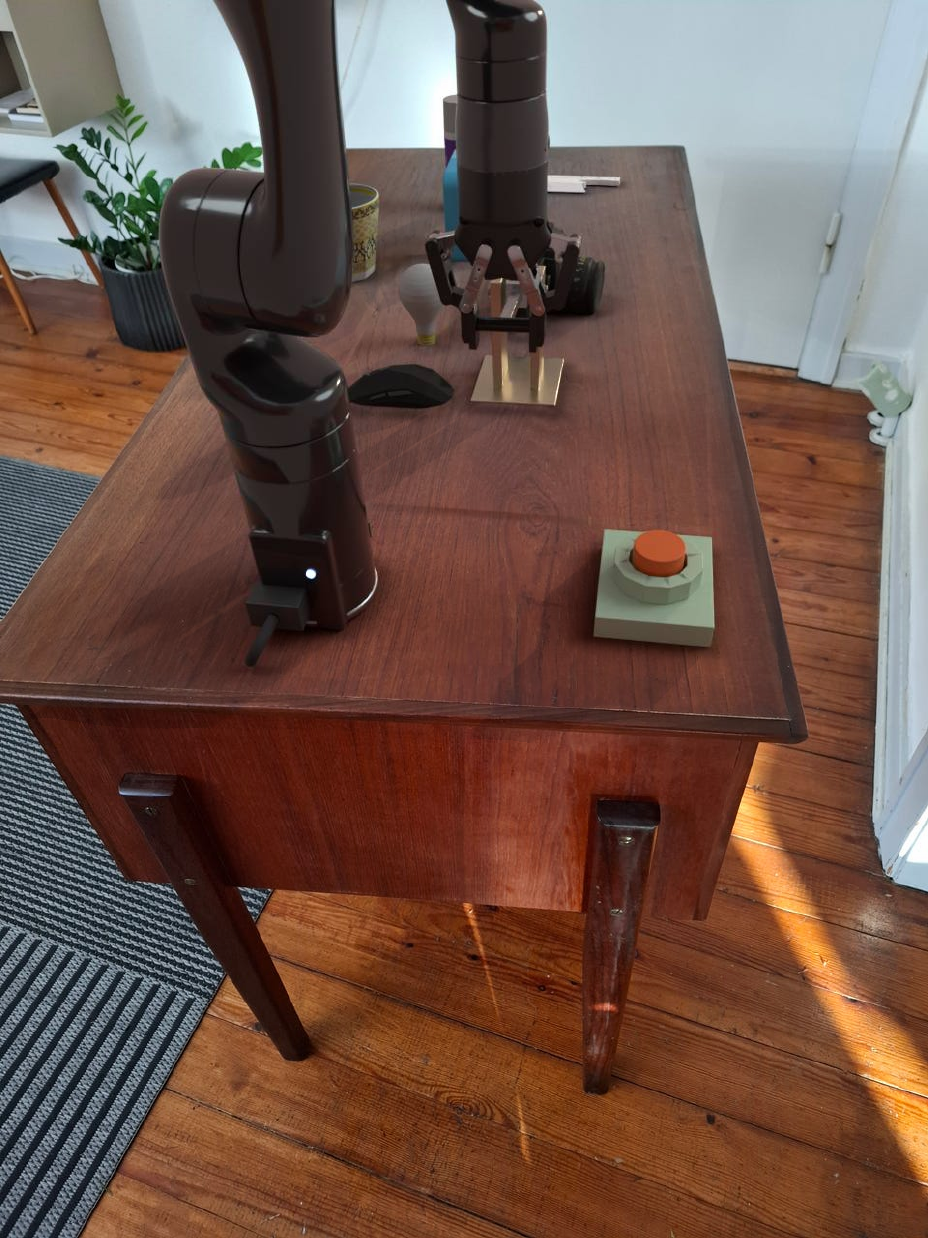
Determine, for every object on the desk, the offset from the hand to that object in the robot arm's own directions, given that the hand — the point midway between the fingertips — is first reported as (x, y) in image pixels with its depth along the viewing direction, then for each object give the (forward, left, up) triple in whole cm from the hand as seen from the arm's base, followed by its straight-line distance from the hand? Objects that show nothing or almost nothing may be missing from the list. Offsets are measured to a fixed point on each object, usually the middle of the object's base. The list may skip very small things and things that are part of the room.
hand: (504, 346), depth 84 cm
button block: (-22, -16, -10) cm, 29 cm away
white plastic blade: (+73, 0, -10) cm, 74 cm away
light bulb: (+18, +12, -10) cm, 24 cm away
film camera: (+29, -2, -10) cm, 31 cm away
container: (+64, +16, -10) cm, 67 cm away
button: (-22, -16, -7) cm, 28 cm away
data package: (+47, +12, -10) cm, 50 cm away
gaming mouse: (+6, +14, -10) cm, 18 cm away
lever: (+5, 0, 0) cm, 5 cm away
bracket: (+10, 0, -10) cm, 14 cm away
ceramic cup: (+40, +28, -10) cm, 50 cm away
